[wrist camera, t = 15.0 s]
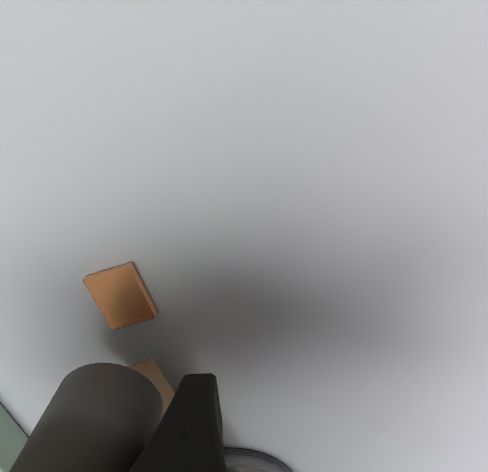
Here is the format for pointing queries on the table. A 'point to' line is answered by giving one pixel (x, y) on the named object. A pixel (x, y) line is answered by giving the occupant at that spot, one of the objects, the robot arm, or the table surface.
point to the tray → (9, 440)
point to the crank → (98, 420)
